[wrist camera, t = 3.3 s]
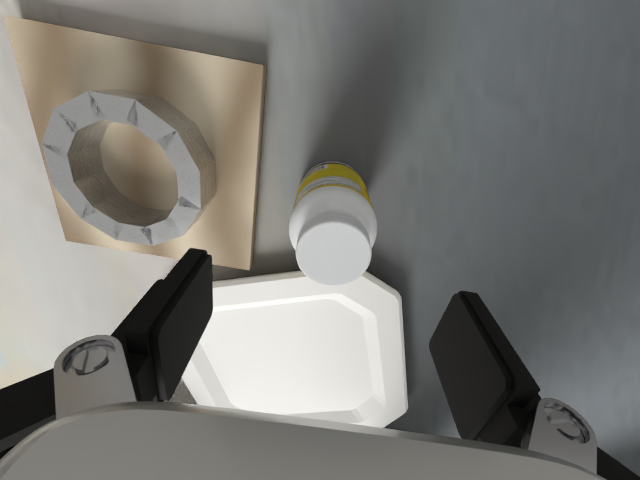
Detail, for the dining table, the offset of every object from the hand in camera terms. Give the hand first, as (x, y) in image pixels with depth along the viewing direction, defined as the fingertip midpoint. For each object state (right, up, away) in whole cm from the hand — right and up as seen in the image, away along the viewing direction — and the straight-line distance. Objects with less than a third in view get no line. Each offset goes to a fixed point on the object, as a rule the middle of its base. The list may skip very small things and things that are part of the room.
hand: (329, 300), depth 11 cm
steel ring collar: (-13, +8, +11) cm, 19 cm away
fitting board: (-13, +8, +12) cm, 20 cm away
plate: (-4, -11, +22) cm, 25 cm away
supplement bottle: (+1, +6, +13) cm, 14 cm away
